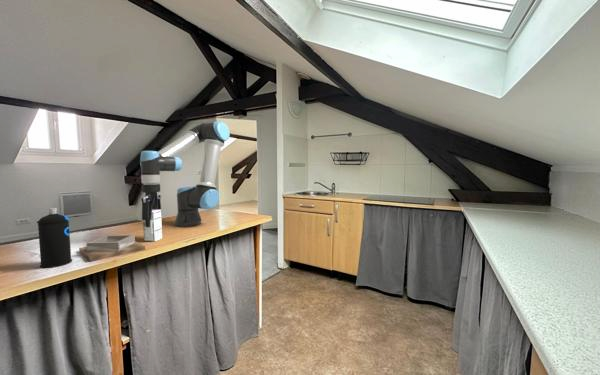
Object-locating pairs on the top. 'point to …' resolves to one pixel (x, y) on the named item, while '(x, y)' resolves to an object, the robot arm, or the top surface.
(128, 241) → the socket holder
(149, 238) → the syrup box
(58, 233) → the aerosol can
